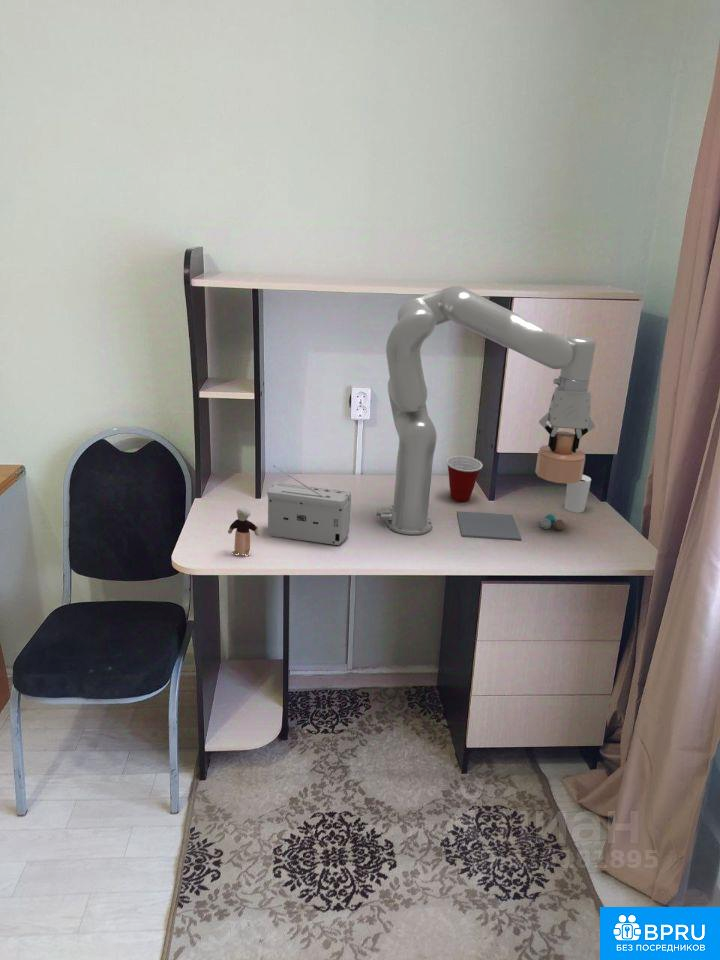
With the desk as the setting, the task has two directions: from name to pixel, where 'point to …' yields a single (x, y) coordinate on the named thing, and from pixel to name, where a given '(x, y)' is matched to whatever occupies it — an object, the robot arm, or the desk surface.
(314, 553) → the desk surface
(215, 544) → the desk surface
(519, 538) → the slate mat
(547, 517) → the teal marble
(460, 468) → the plastic cup
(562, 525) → the dark brown marble
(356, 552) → the desk surface
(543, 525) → the grey marble
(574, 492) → the white cylinder
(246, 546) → the grandmother figurine
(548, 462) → the terracotta cover
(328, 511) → the stereo radio cassette player
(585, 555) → the desk surface
